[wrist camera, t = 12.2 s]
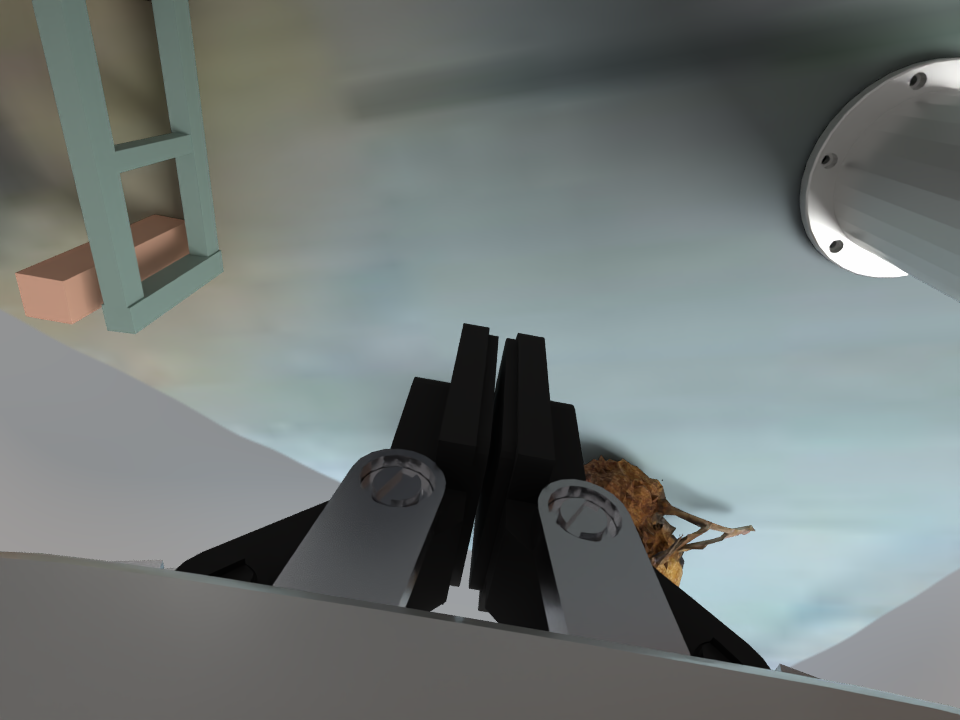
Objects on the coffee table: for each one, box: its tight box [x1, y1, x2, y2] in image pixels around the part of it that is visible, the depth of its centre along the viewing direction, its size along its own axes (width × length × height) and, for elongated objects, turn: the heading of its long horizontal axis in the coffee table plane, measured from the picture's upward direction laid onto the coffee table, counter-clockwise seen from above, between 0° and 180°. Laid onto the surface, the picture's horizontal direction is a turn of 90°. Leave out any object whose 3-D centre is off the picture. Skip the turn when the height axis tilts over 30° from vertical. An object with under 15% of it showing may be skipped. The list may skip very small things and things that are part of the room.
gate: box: [32, 0, 223, 334], centre depth 30 cm, size 18×2×11 cm, turn 174°
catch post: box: [15, 214, 189, 324], centre depth 34 cm, size 2×2×12 cm
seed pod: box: [584, 455, 755, 587], centre depth 43 cm, size 14×18×16 cm
